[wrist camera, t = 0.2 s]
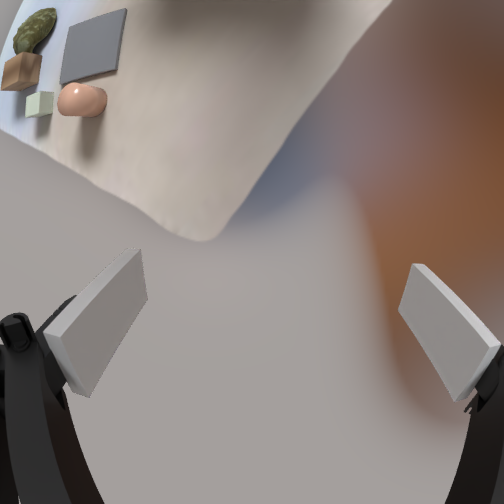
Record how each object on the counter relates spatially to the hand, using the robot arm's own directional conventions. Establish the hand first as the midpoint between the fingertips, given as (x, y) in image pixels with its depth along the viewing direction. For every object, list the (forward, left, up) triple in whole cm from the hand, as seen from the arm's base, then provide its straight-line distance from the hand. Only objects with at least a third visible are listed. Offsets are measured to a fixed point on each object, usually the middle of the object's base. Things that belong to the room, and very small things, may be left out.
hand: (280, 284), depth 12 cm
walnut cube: (-24, -46, -28) cm, 59 cm away
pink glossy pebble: (-14, -28, -28) cm, 42 cm away
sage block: (-16, -40, -28) cm, 52 cm away
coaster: (-25, -30, -28) cm, 48 cm away
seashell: (-37, -46, -29) cm, 66 cm away
